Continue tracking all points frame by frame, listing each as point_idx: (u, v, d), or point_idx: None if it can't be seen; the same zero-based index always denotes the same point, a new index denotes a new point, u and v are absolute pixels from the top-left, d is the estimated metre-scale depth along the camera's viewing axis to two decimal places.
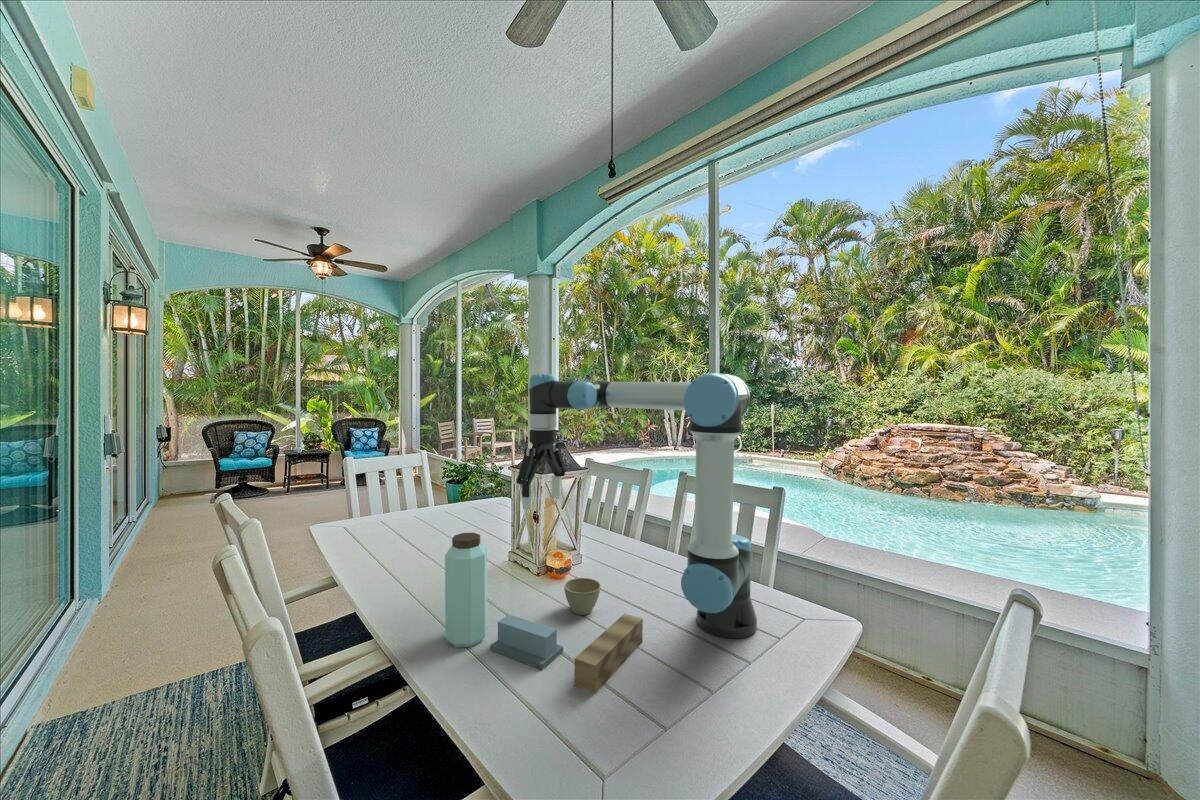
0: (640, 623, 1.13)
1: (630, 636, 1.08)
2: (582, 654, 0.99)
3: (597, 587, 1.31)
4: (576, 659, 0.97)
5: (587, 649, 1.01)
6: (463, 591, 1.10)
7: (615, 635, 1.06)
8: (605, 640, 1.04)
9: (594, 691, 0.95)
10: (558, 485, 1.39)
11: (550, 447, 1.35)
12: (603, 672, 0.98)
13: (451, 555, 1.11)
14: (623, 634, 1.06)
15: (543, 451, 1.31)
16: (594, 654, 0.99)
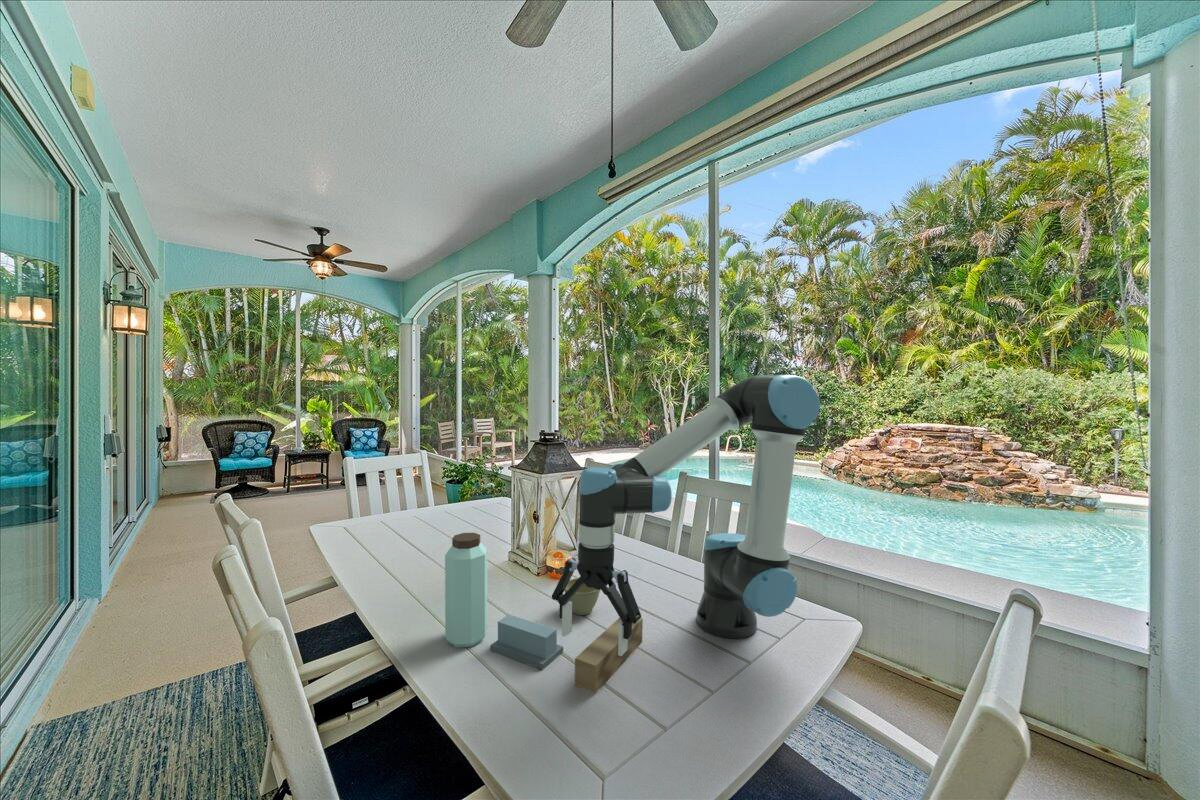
0: (640, 623, 1.13)
1: None
2: (582, 654, 0.99)
3: None
4: (576, 659, 0.97)
5: (587, 649, 1.01)
6: (463, 591, 1.10)
7: (615, 635, 1.06)
8: (605, 640, 1.04)
9: (594, 691, 0.95)
10: None
11: (602, 572, 0.97)
12: (603, 672, 0.98)
13: (451, 555, 1.11)
14: None
15: (584, 572, 0.98)
16: (594, 654, 0.99)
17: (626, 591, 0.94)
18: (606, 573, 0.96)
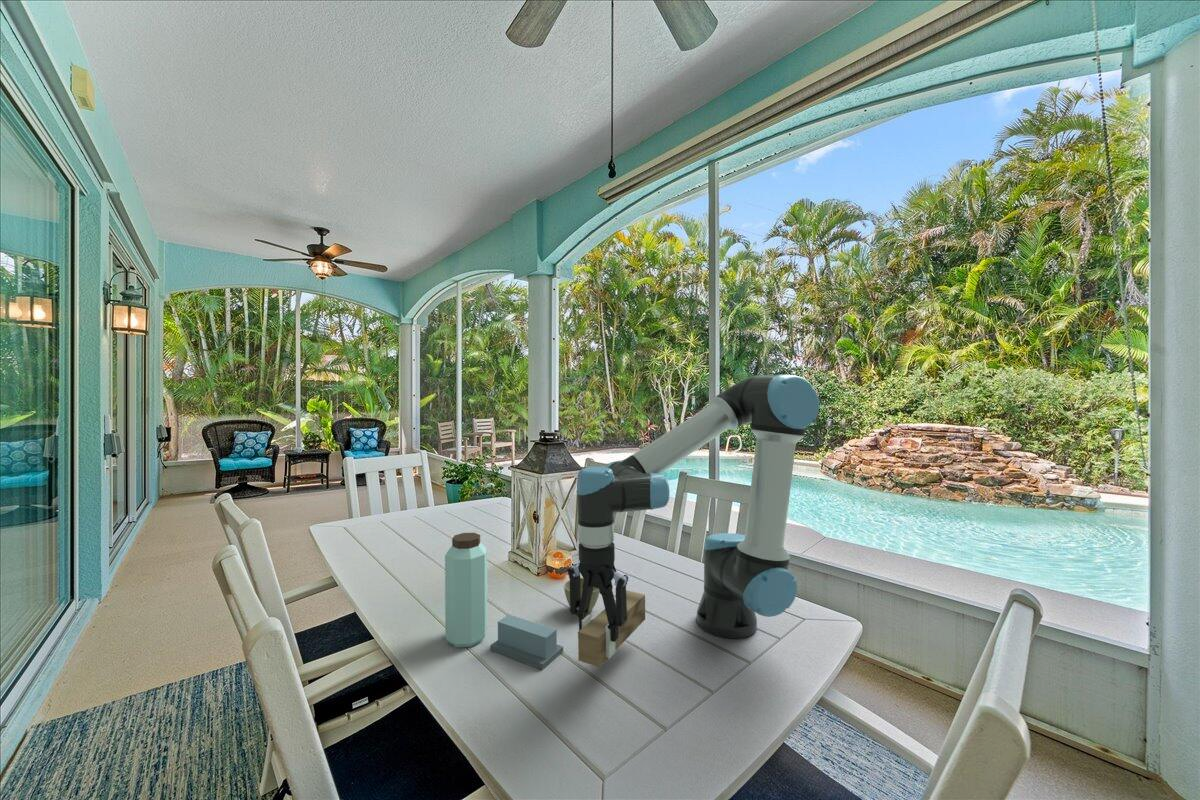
0: (643, 599, 1.13)
1: (633, 611, 1.08)
2: (585, 628, 0.99)
3: None
4: (579, 633, 0.97)
5: (590, 623, 1.00)
6: (463, 591, 1.10)
7: None
8: None
9: (598, 664, 0.95)
10: None
11: (604, 570, 0.97)
12: None
13: (451, 555, 1.11)
14: None
15: None
16: (597, 627, 0.99)
17: (621, 596, 0.95)
18: (608, 572, 0.96)
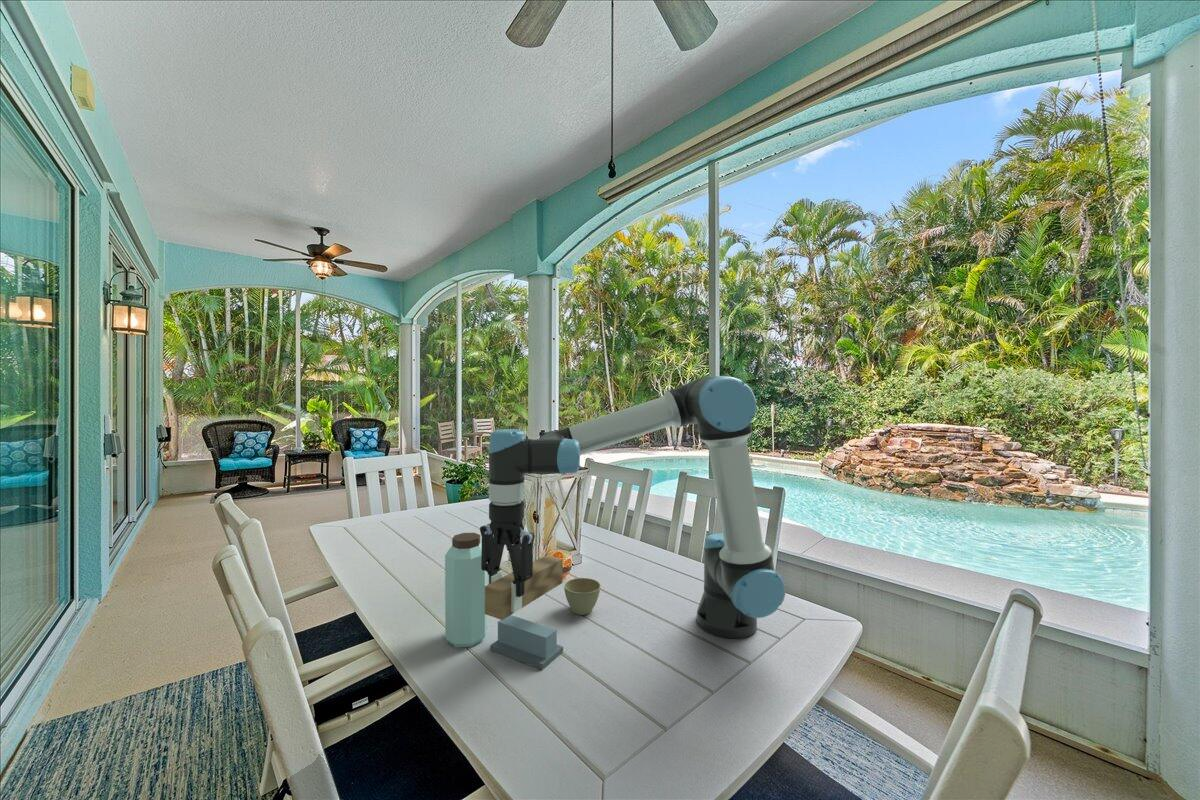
0: (559, 563, 1.16)
1: (547, 572, 1.12)
2: (493, 583, 1.02)
3: (597, 587, 1.31)
4: (486, 587, 1.01)
5: (499, 580, 1.04)
6: (463, 591, 1.10)
7: None
8: None
9: (501, 616, 0.99)
10: None
11: (511, 527, 1.00)
12: None
13: (451, 555, 1.11)
14: (538, 570, 1.10)
15: None
16: (505, 583, 1.02)
17: (526, 552, 0.99)
18: (515, 530, 1.00)
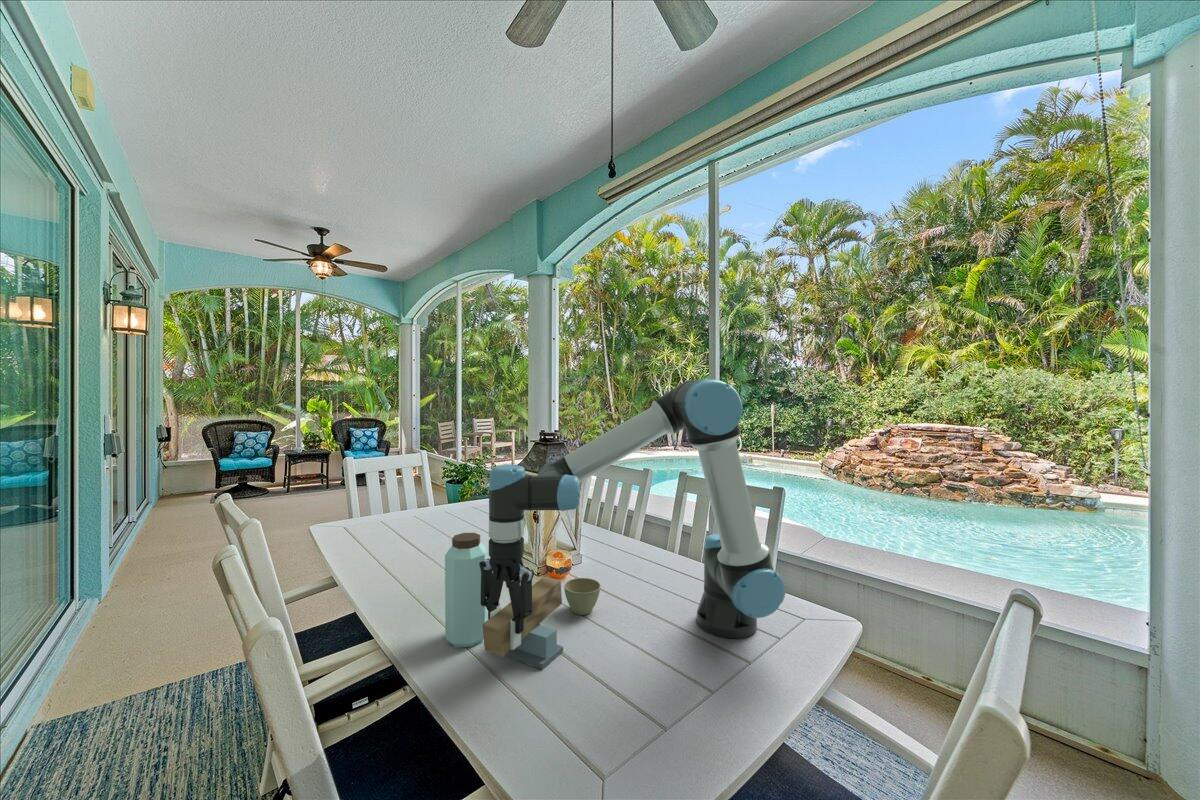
0: (558, 585, 1.16)
1: (545, 598, 1.12)
2: (491, 620, 1.02)
3: (597, 587, 1.31)
4: (484, 625, 1.00)
5: (497, 614, 1.04)
6: (463, 591, 1.10)
7: None
8: None
9: (501, 654, 0.99)
10: None
11: (511, 564, 1.01)
12: None
13: (451, 555, 1.11)
14: (536, 598, 1.10)
15: None
16: (503, 619, 1.02)
17: (526, 590, 0.99)
18: (514, 567, 1.00)
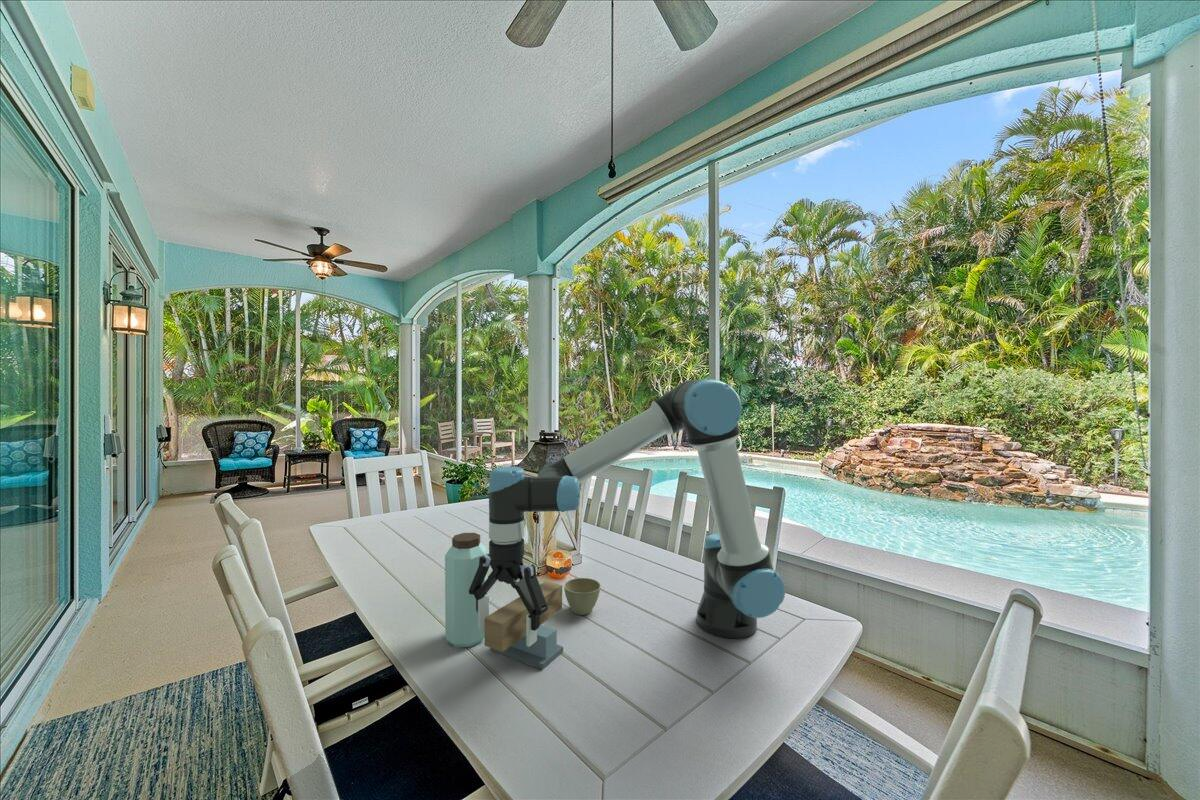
0: (559, 589, 1.17)
1: (547, 600, 1.12)
2: (493, 614, 1.02)
3: (597, 587, 1.31)
4: (486, 619, 1.01)
5: (499, 610, 1.04)
6: (463, 591, 1.10)
7: None
8: (519, 603, 1.08)
9: (501, 648, 0.99)
10: None
11: (511, 567, 1.01)
12: (512, 631, 1.01)
13: (451, 555, 1.11)
14: None
15: (495, 567, 1.02)
16: (504, 614, 1.02)
17: (532, 584, 0.99)
18: (514, 568, 1.00)
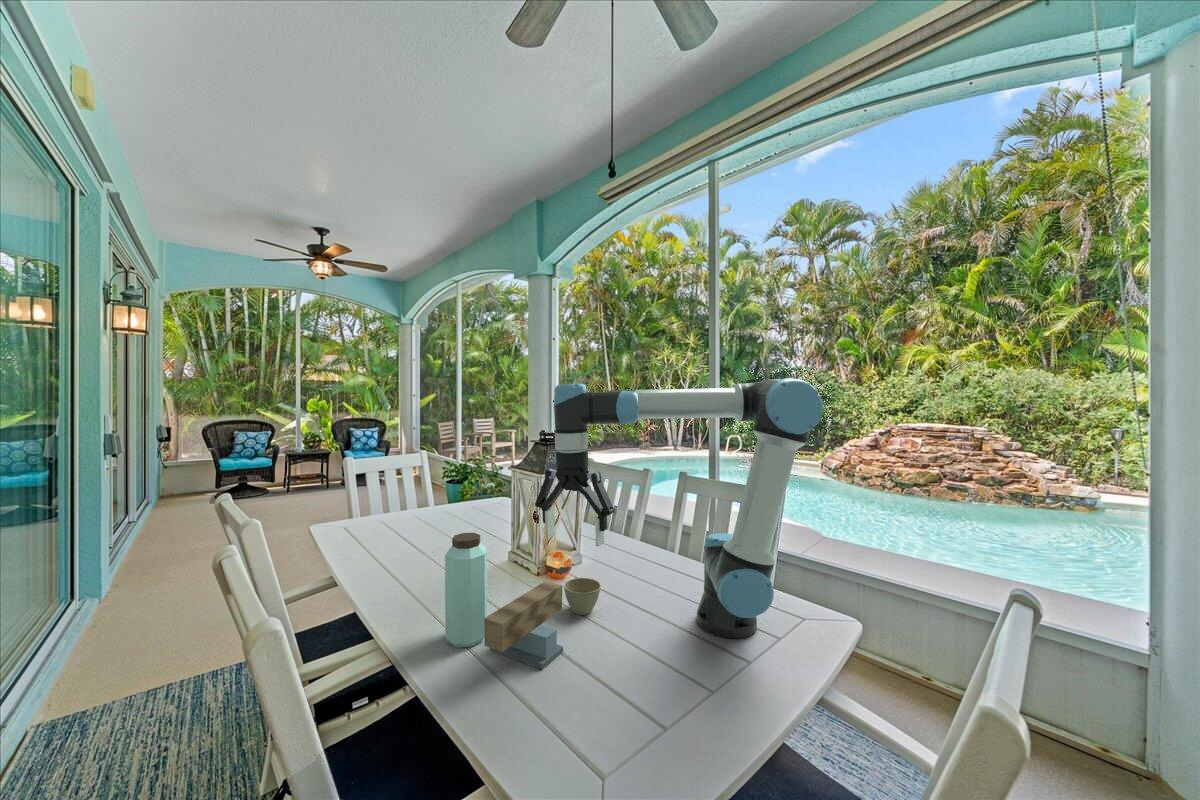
0: (559, 589, 1.17)
1: (547, 600, 1.12)
2: (493, 614, 1.02)
3: (597, 587, 1.31)
4: (486, 619, 1.01)
5: (499, 610, 1.04)
6: (463, 591, 1.10)
7: (530, 599, 1.10)
8: (519, 603, 1.08)
9: (501, 649, 0.99)
10: None
11: (578, 475, 1.08)
12: (512, 631, 1.01)
13: (451, 555, 1.11)
14: (538, 598, 1.10)
15: (562, 477, 1.10)
16: (504, 614, 1.02)
17: (600, 488, 1.06)
18: (581, 475, 1.08)
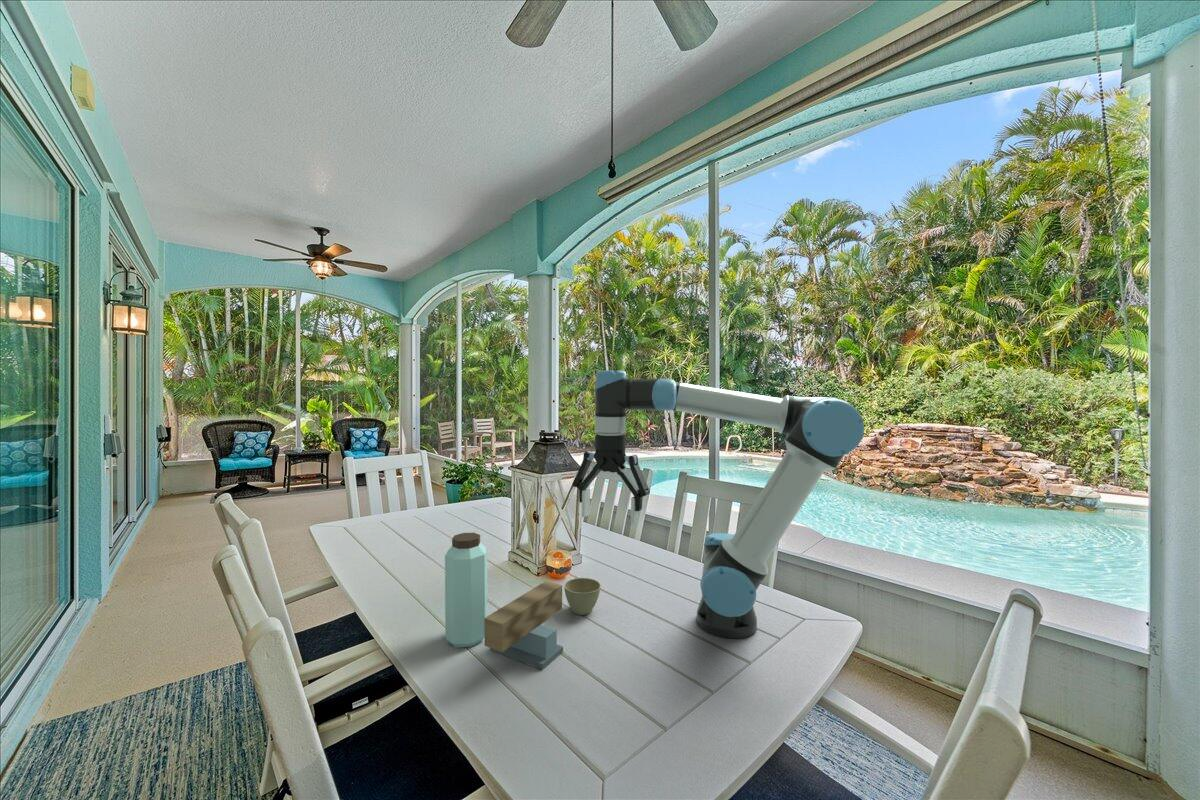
0: (559, 589, 1.17)
1: (547, 600, 1.12)
2: (493, 614, 1.02)
3: (597, 587, 1.31)
4: (486, 619, 1.01)
5: (499, 610, 1.04)
6: (463, 591, 1.10)
7: (530, 599, 1.10)
8: (519, 603, 1.08)
9: (501, 649, 0.99)
10: None
11: (615, 457, 1.14)
12: (512, 631, 1.01)
13: (451, 555, 1.11)
14: (538, 598, 1.10)
15: None
16: (504, 614, 1.02)
17: (637, 470, 1.11)
18: (619, 457, 1.13)
